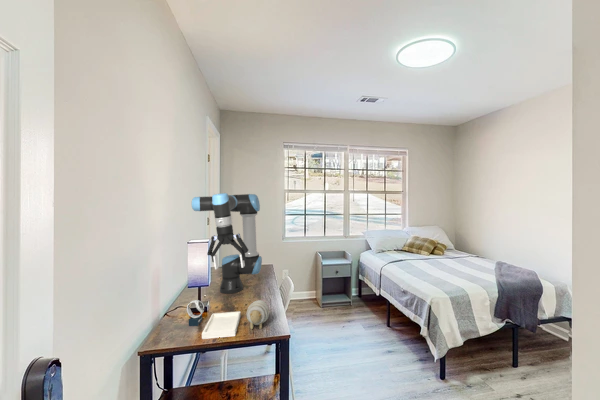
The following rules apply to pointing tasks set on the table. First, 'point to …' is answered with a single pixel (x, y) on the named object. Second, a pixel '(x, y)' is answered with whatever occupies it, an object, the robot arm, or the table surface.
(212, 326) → the tray
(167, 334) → the table surface
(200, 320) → the watch
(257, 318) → the toy sheep
